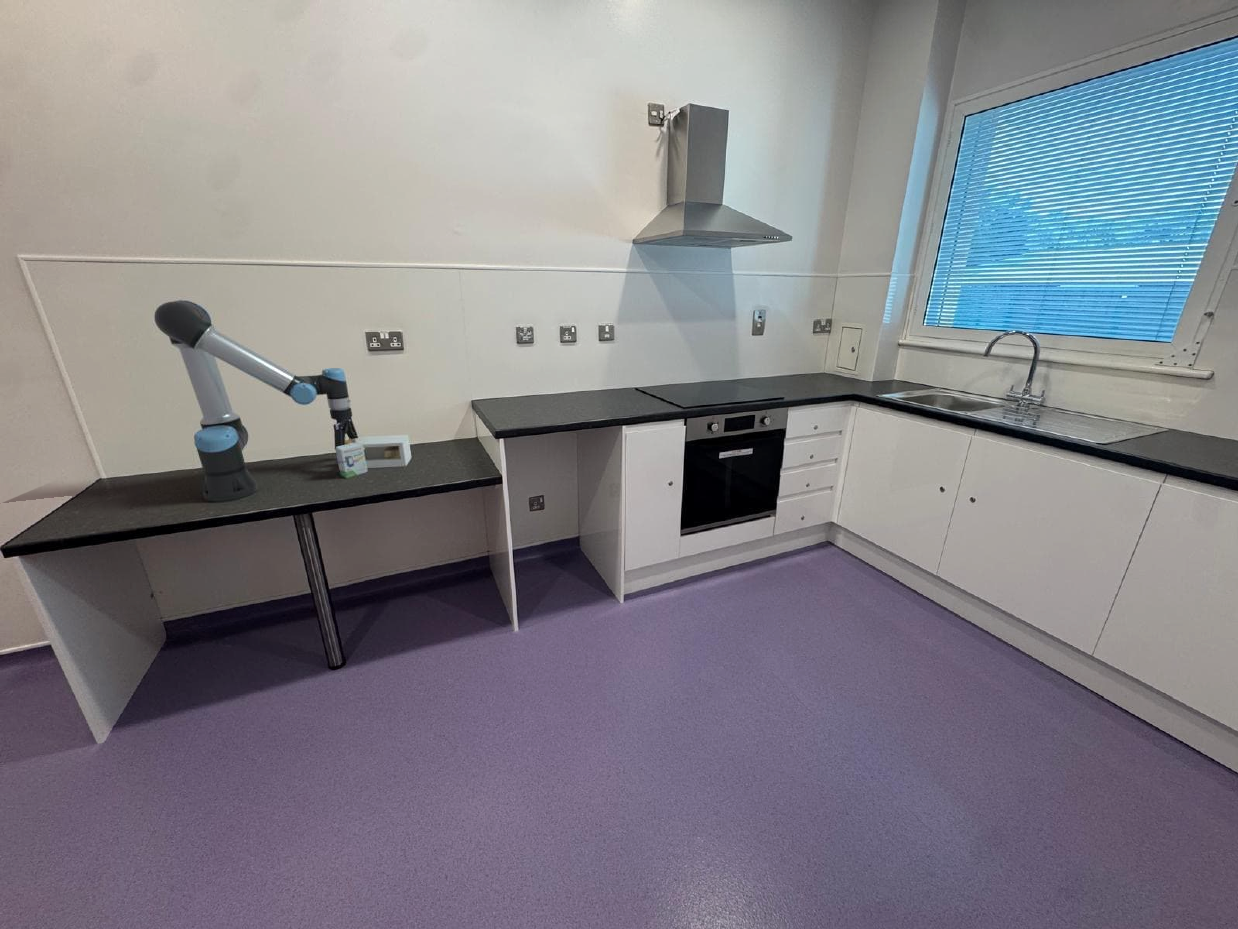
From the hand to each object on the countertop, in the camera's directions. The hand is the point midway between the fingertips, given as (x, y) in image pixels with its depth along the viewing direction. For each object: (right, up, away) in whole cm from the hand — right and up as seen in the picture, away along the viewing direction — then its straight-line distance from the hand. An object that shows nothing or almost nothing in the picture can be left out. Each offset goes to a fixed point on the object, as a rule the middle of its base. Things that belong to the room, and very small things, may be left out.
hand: (349, 459), depth 202 cm
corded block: (+9, -2, +2) cm, 10 cm away
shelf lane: (+13, -2, +3) cm, 13 cm away
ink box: (+6, -6, -9) cm, 12 cm away
